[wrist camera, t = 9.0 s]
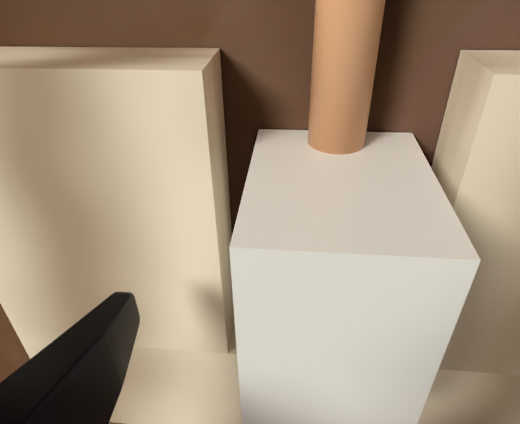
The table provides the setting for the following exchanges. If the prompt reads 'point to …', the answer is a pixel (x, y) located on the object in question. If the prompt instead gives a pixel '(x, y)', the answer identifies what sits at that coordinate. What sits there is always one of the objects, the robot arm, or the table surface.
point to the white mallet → (343, 252)
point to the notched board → (217, 222)
